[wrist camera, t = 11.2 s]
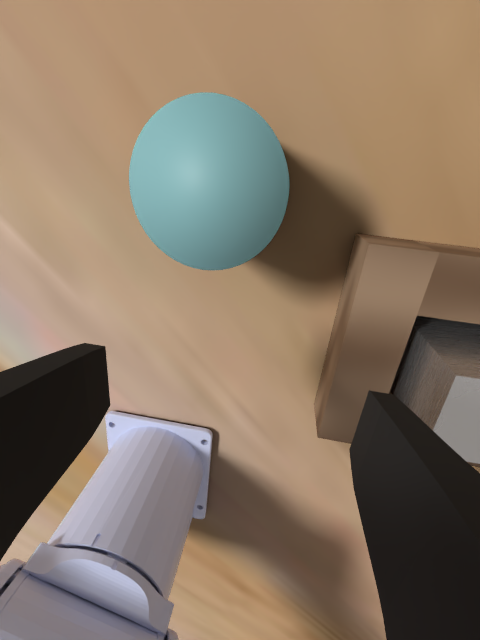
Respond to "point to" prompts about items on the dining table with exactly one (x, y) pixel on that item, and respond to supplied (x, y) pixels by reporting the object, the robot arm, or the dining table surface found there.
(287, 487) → the dining table surface
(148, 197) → the round bit
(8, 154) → the dining table surface
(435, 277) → the walnut bore block
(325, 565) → the dining table surface
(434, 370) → the square bit
